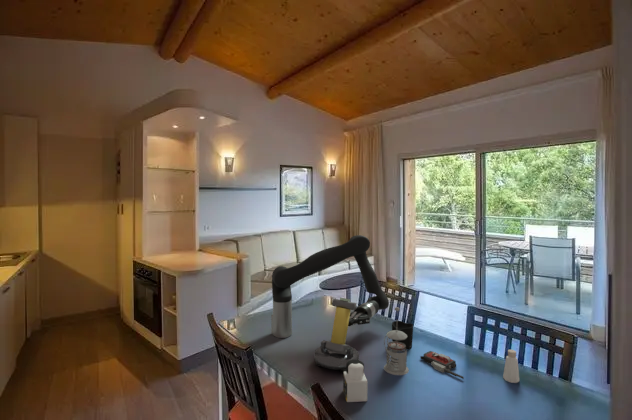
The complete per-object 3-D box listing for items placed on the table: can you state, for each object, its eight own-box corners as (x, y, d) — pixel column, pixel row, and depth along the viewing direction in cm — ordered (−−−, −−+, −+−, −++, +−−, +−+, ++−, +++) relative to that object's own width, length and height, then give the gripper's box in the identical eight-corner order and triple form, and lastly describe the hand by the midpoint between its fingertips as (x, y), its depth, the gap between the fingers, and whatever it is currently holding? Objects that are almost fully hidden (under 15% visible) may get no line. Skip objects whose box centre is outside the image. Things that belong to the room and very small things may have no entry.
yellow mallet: (322, 349, 144) (331, 295, 149) (329, 349, 149) (337, 297, 154) (344, 355, 139) (352, 299, 144) (350, 355, 144) (358, 301, 149)
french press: (394, 377, 134) (395, 313, 133) (375, 364, 144) (376, 304, 143) (414, 371, 139) (415, 308, 137) (394, 358, 149) (395, 300, 148)
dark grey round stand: (306, 367, 141) (306, 348, 141) (328, 350, 157) (328, 332, 156) (346, 380, 132) (346, 359, 131) (366, 361, 147) (366, 342, 147)
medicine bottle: (343, 390, 126) (343, 357, 125) (362, 389, 126) (363, 356, 125) (346, 402, 118) (346, 367, 118) (367, 401, 119) (367, 367, 118)
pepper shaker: (519, 384, 129) (520, 355, 129) (502, 380, 132) (503, 351, 132) (519, 378, 134) (520, 349, 133) (503, 374, 137) (504, 346, 136)
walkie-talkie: (416, 362, 147) (461, 382, 131) (417, 351, 147) (462, 371, 131) (429, 355, 153) (474, 375, 137) (429, 345, 152) (474, 364, 137)
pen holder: (397, 351, 156) (397, 329, 155) (388, 342, 165) (388, 321, 164) (416, 349, 158) (417, 327, 157) (406, 340, 167) (407, 319, 166)
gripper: (352, 301, 170) (334, 312, 155) (378, 306, 163) (362, 318, 148) (352, 317, 170) (334, 329, 156) (377, 322, 163) (362, 335, 149)
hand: (348, 323), depth 152 cm, fingers closed
